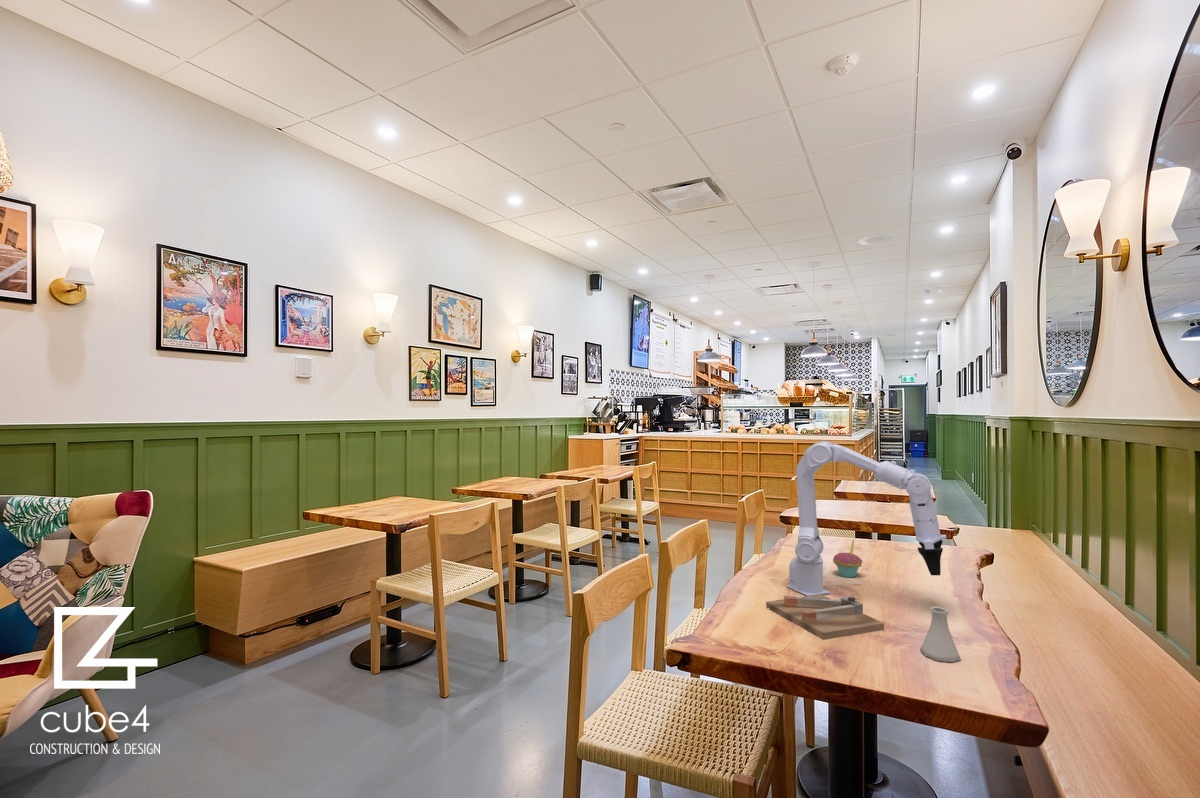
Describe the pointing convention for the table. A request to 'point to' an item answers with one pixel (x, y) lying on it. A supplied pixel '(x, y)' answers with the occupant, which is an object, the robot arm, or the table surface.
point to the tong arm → (811, 602)
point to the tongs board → (829, 618)
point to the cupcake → (847, 563)
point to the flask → (939, 638)
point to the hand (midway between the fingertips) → (935, 571)
